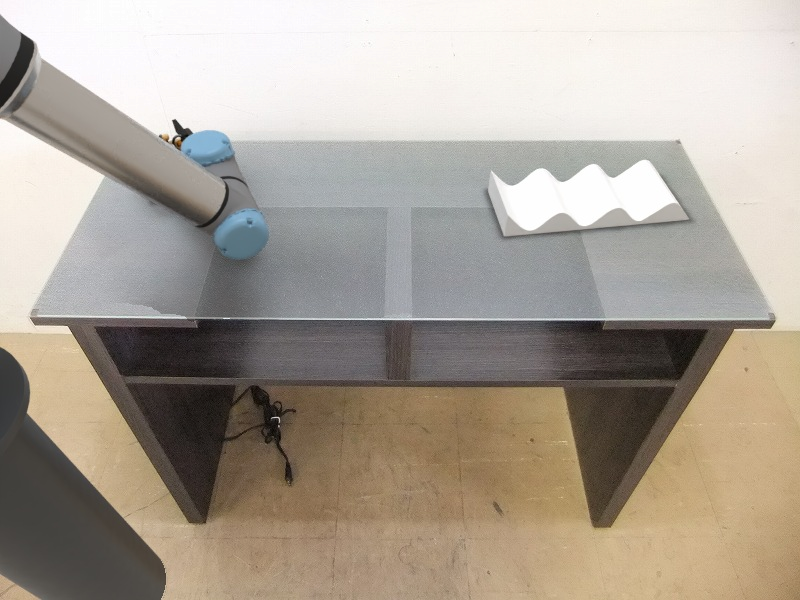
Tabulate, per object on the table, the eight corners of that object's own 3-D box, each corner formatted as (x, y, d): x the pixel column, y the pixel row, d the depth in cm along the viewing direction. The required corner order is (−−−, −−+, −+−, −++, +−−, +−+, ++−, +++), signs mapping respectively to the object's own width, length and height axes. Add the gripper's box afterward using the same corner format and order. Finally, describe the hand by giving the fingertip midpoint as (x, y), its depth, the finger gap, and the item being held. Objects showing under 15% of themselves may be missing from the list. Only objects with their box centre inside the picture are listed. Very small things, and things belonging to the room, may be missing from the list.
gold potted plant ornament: (158, 175, 118) (149, 140, 112) (165, 161, 122) (157, 126, 116) (182, 177, 119) (174, 142, 112) (189, 163, 122) (181, 128, 116)
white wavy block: (689, 219, 110) (699, 197, 106) (503, 236, 108) (507, 214, 104) (659, 176, 119) (668, 154, 115) (487, 191, 116) (490, 169, 112)
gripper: (158, 227, 105) (116, 164, 117) (258, 187, 112) (208, 131, 125) (144, 193, 99) (102, 131, 112) (250, 153, 107) (199, 98, 119)
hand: (158, 131), depth 118 cm, fingers closed on gold potted plant ornament, 6 cm apart
